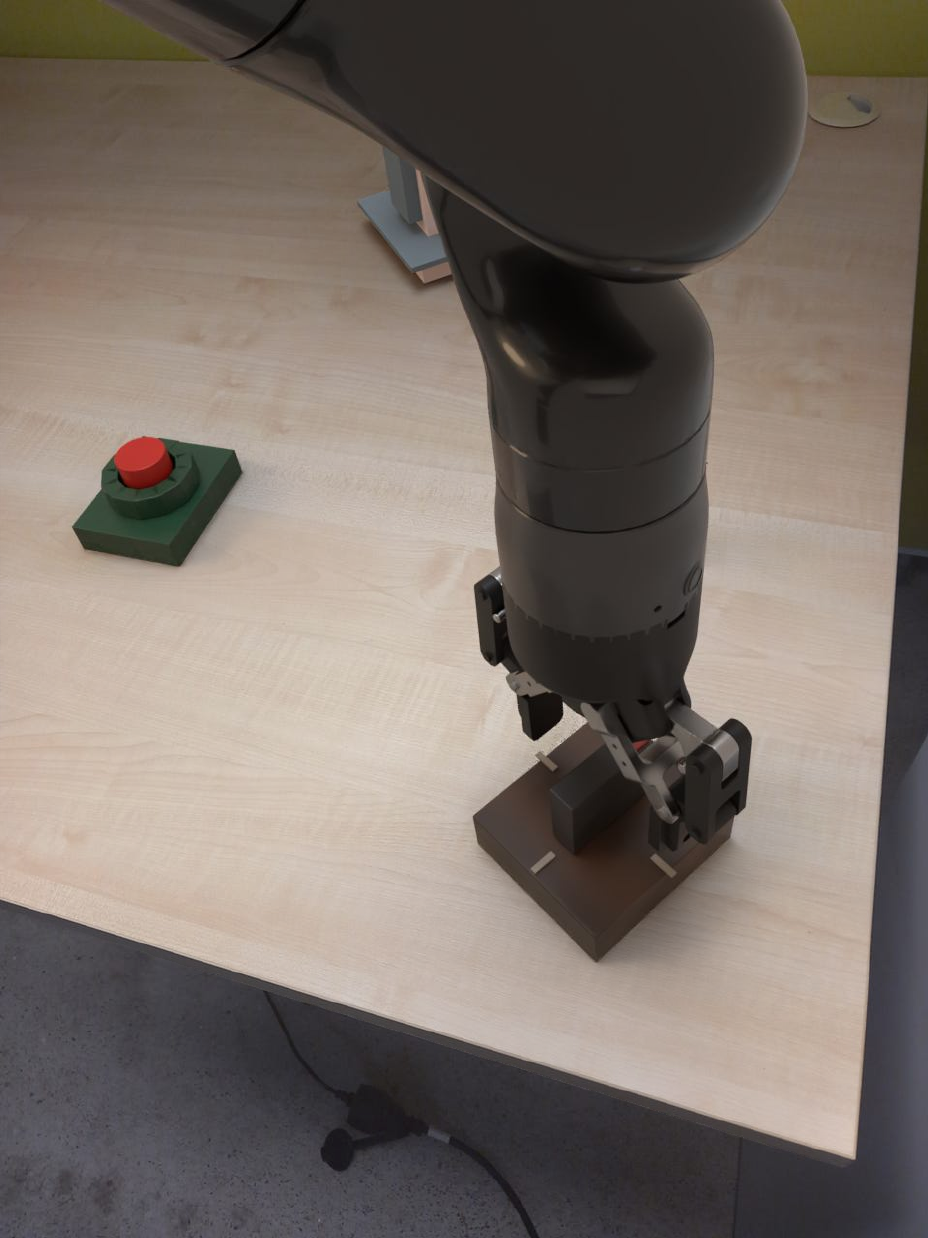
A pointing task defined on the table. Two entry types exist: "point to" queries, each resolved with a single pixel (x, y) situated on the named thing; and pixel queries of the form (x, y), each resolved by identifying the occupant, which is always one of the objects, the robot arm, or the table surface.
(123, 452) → the button
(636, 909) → the panel
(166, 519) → the button box
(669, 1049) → the table surface
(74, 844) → the table surface
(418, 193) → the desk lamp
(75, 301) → the table surface
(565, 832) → the knob
